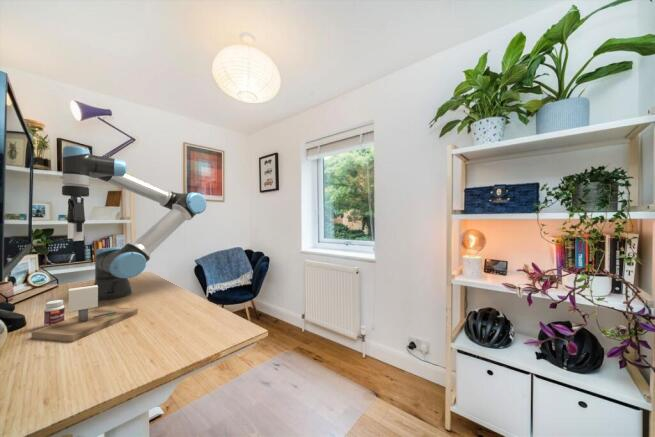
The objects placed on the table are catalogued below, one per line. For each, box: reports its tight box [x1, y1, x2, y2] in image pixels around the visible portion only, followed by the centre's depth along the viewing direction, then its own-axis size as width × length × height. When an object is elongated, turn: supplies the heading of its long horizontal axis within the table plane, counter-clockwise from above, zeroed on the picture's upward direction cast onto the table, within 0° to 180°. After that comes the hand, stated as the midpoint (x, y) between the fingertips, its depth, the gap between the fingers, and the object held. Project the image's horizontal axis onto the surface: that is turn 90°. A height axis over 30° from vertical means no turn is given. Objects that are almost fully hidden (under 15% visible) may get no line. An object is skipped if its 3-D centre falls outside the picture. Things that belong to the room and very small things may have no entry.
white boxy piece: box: [68, 284, 116, 322], centre depth 86 cm, size 3×12×11 cm, turn 137°
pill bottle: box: [43, 299, 66, 328], centre depth 85 cm, size 5×5×8 cm
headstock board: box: [30, 305, 139, 343], centre depth 86 cm, size 22×15×2 cm
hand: (75, 239), depth 97 cm, fingers open, 13 cm apart
